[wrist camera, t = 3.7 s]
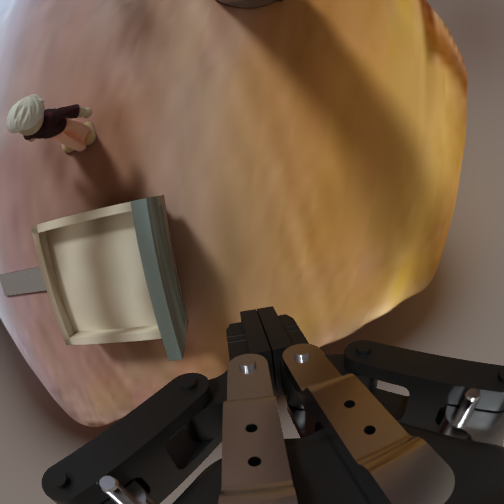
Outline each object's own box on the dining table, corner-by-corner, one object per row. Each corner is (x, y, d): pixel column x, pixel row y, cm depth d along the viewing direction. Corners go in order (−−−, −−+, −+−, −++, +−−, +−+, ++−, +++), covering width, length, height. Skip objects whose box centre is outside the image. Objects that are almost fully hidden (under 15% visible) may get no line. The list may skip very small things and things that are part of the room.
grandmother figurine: (60, 167, 24) (-13, 162, 12) (53, 138, 23) (-18, 122, 11) (116, 134, 25) (56, 105, 12) (107, 105, 24) (50, 64, 11)
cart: (167, 194, 27) (146, 198, 18) (189, 312, 30) (182, 359, 21) (55, 219, 25) (7, 233, 17) (83, 324, 29) (51, 364, 20)
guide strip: (166, 243, 28) (165, 244, 28) (171, 271, 29) (171, 272, 28) (0, 274, 25) (-1, 275, 25) (6, 295, 26) (5, 296, 26)
